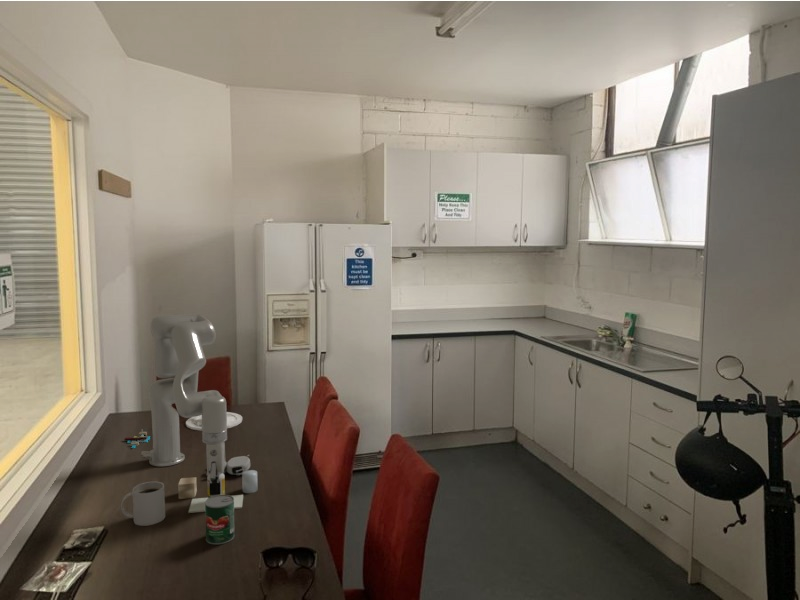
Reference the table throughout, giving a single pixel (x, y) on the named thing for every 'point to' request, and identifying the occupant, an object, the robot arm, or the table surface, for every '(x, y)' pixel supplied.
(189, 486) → the birch block
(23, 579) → the table surface
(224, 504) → the canned tomato
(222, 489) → the supplement bottle
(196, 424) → the dish
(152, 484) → the mug
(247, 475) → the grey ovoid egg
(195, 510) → the sage mat
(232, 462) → the robot toy
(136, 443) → the gear mechanism
